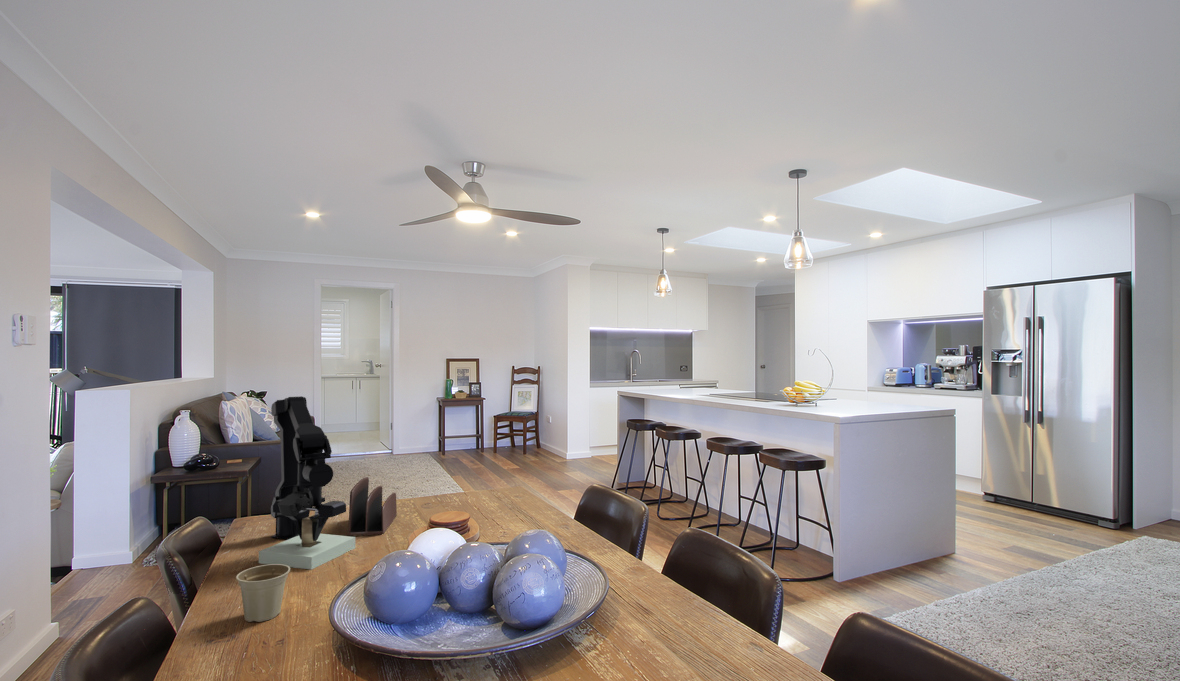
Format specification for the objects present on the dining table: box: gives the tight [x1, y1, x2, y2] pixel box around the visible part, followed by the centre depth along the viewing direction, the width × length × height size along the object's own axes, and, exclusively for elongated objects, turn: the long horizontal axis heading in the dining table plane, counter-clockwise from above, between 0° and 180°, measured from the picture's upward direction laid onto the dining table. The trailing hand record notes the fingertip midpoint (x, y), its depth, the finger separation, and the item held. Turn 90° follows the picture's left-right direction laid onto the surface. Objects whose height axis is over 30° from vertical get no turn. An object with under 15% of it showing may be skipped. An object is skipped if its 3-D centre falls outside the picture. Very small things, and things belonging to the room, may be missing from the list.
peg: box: [301, 516, 316, 547], centre depth 147 cm, size 4×4×9 cm
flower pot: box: [235, 564, 291, 623], centre depth 113 cm, size 9×9×9 cm
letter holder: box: [347, 476, 398, 537], centre depth 174 cm, size 10×20×14 cm, turn 8°
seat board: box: [258, 533, 356, 570], centre depth 147 cm, size 16×16×3 cm
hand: (309, 540), depth 147 cm, fingers open, 4 cm apart
